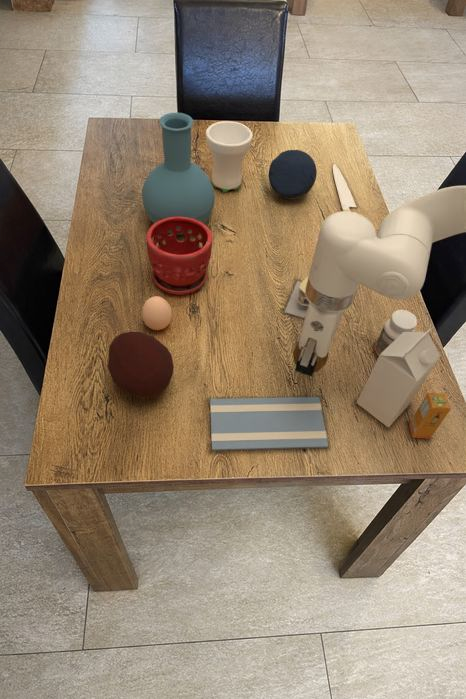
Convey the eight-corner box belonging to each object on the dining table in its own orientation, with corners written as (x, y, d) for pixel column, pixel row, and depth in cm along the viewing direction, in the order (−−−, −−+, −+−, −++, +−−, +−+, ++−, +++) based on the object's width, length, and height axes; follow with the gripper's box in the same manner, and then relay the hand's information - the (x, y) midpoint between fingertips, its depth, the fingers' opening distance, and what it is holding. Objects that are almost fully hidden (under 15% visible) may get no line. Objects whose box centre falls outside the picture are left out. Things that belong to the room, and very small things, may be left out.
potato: (134, 422, 87) (128, 390, 79) (99, 370, 93) (89, 335, 85) (188, 392, 92) (187, 358, 83) (151, 344, 98) (147, 309, 90)
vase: (136, 207, 123) (124, 106, 103) (199, 194, 128) (200, 95, 108) (157, 251, 114) (149, 149, 94) (224, 235, 119) (230, 135, 99)
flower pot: (211, 300, 106) (213, 257, 96) (148, 300, 105) (144, 257, 95) (210, 257, 114) (211, 214, 104) (151, 257, 113) (147, 213, 103)
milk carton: (355, 403, 92) (386, 339, 77) (377, 381, 96) (411, 315, 81) (387, 428, 90) (426, 367, 74) (409, 404, 93) (450, 341, 78)
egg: (144, 338, 99) (141, 312, 93) (142, 316, 102) (138, 290, 96) (174, 334, 100) (172, 309, 94) (170, 313, 103) (168, 287, 97)
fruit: (308, 348, 96) (316, 321, 89) (330, 371, 93) (340, 344, 86) (283, 363, 93) (289, 336, 87) (304, 386, 90) (312, 360, 84)
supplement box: (425, 422, 91) (447, 392, 83) (429, 439, 89) (452, 410, 81) (407, 421, 91) (427, 391, 83) (411, 438, 89) (432, 409, 81)
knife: (344, 163, 139) (329, 159, 138) (369, 241, 119) (352, 238, 118) (342, 167, 140) (327, 163, 139) (366, 245, 120) (349, 242, 119)
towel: (318, 398, 93) (319, 396, 92) (327, 447, 87) (328, 446, 86) (210, 400, 91) (210, 398, 90) (211, 450, 85) (211, 449, 84)
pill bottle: (388, 336, 103) (404, 303, 95) (408, 354, 100) (427, 322, 92) (368, 347, 101) (382, 315, 93) (388, 367, 98) (405, 335, 90)
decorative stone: (271, 176, 134) (276, 141, 126) (315, 185, 133) (323, 151, 125) (261, 201, 127) (265, 166, 119) (307, 212, 126) (315, 177, 118)
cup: (198, 176, 132) (198, 124, 121) (237, 168, 136) (241, 117, 124) (214, 201, 126) (216, 149, 115) (254, 192, 129) (260, 141, 118)
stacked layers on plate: (297, 280, 111) (301, 262, 106) (336, 292, 109) (342, 274, 105) (284, 312, 105) (288, 294, 101) (326, 324, 104) (331, 307, 99)
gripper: (339, 336, 71) (315, 403, 85) (368, 261, 81) (342, 332, 95) (289, 318, 72) (273, 387, 87) (324, 247, 82) (305, 318, 96)
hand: (310, 357), depth 91 cm, fingers closed on fruit, 6 cm apart
